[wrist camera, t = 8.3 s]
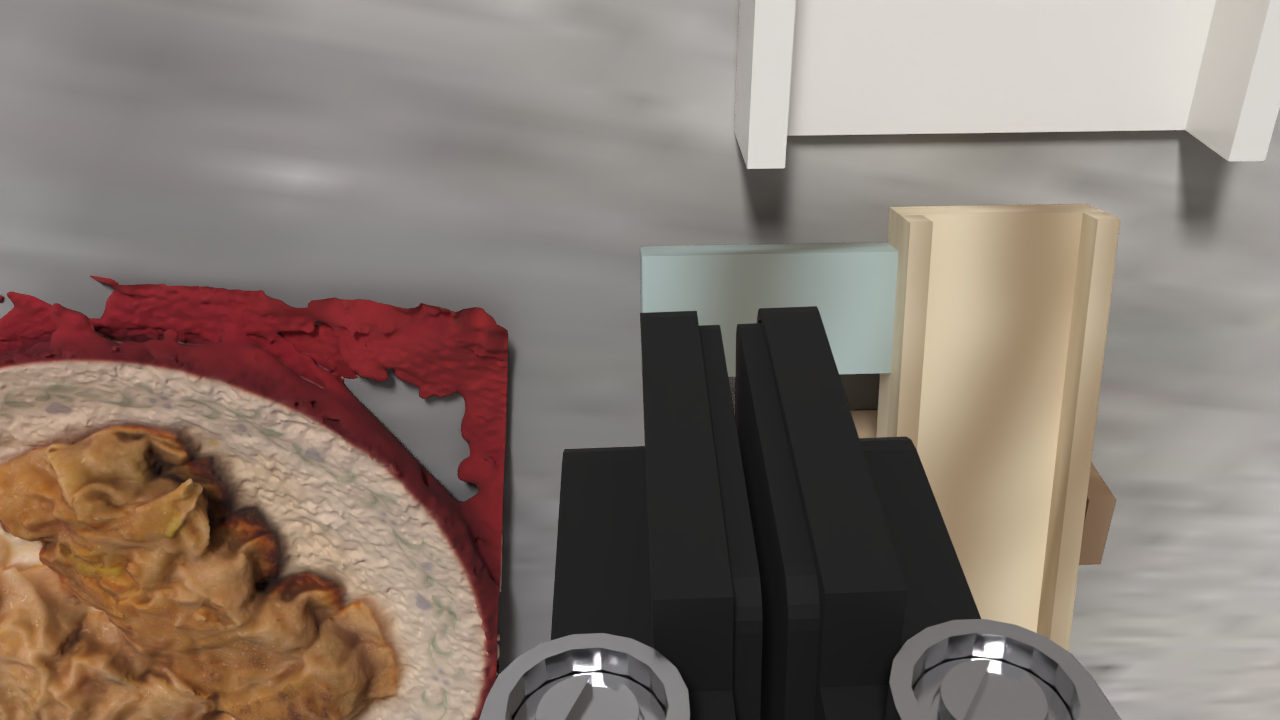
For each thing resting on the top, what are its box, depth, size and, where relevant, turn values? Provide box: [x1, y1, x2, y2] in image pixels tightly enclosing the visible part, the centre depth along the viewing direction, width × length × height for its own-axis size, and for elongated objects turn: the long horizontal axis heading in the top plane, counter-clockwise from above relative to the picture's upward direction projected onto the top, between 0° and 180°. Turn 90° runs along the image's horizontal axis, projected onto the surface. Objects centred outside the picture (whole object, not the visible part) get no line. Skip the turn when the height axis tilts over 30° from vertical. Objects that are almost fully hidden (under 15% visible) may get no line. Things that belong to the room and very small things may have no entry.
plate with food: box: [0, 276, 508, 720], centre depth 41 cm, size 25×26×4 cm
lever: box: [640, 204, 1120, 651], centre depth 34 cm, size 13×19×4 cm, turn 0°
